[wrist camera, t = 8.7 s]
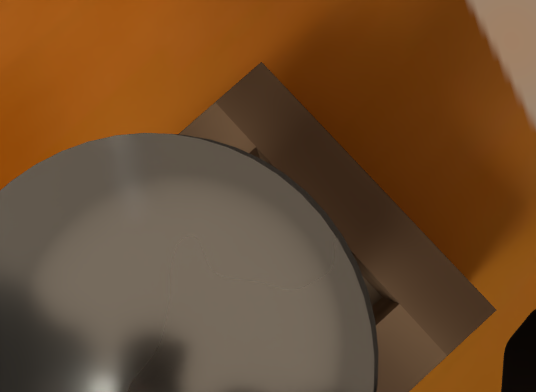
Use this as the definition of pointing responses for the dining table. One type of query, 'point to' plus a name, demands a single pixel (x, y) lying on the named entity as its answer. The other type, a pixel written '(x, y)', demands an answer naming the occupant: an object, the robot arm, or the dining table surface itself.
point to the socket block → (356, 227)
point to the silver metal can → (176, 276)
